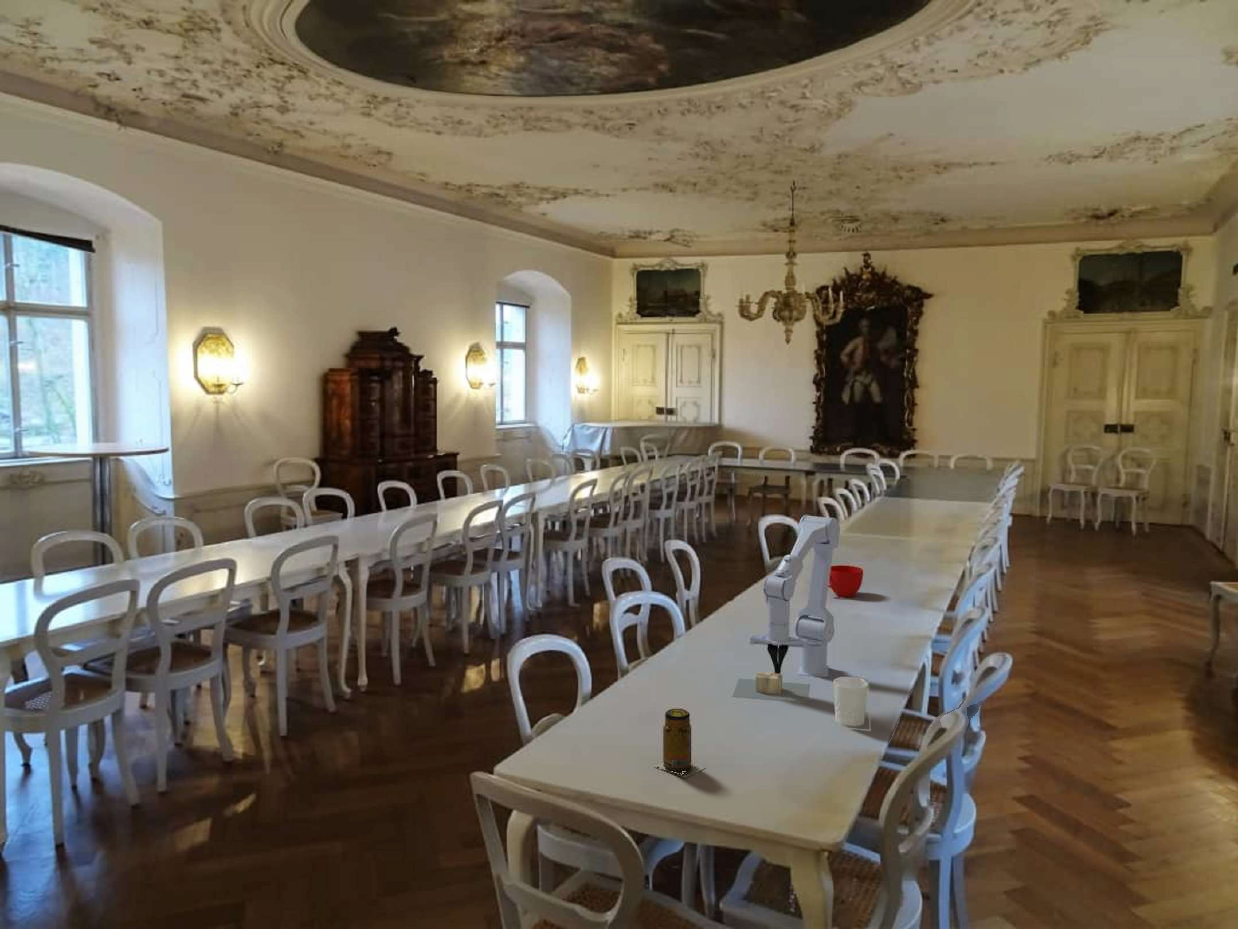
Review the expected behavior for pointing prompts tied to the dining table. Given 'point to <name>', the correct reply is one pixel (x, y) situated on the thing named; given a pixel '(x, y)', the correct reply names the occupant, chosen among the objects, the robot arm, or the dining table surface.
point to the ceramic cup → (845, 580)
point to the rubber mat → (788, 693)
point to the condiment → (678, 744)
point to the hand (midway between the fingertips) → (777, 672)
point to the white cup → (850, 700)
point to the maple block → (768, 682)
